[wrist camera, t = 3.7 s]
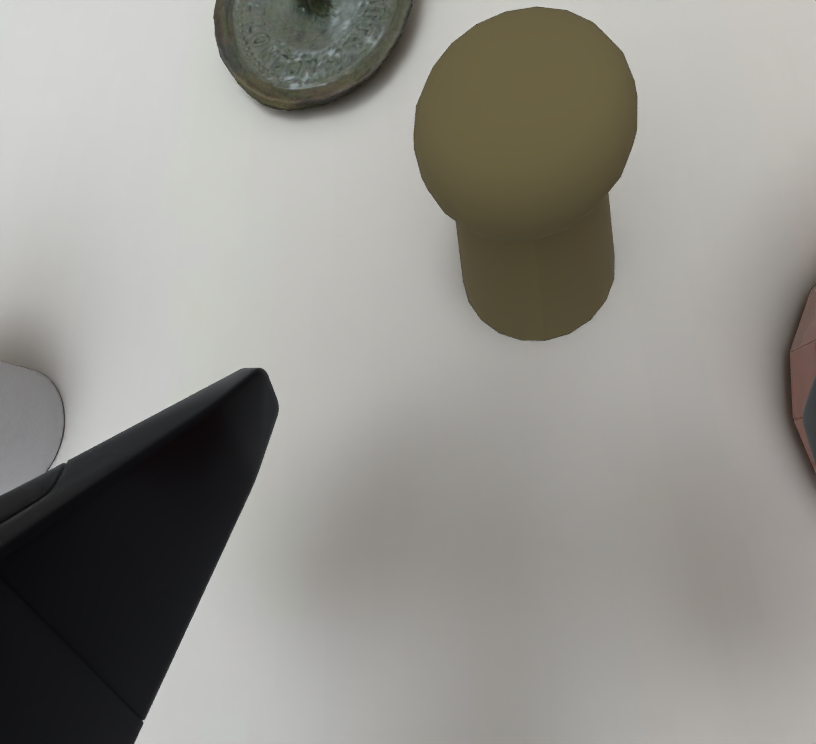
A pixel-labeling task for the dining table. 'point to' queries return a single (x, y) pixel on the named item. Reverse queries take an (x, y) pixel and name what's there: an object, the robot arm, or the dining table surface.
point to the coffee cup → (27, 425)
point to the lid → (306, 46)
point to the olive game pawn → (529, 164)
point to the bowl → (804, 366)
